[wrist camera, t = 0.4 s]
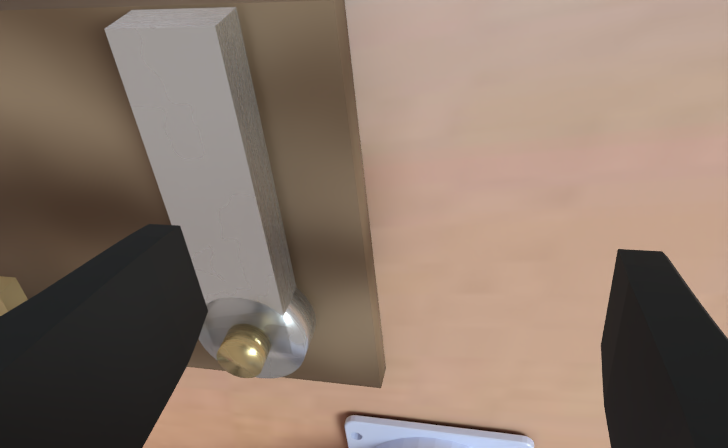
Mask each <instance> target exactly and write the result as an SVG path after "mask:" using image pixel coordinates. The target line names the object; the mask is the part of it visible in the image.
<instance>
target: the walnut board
mask: <svg viewBox="0 0 728 448" xmlns="http://www.w3.org/2000/svg"><path fill="white" fill-rule="evenodd" d="M218 7H237V12H238V17H239V21H240V26H241V31H242V35H243V40H244V45H245V49H246V54H247V59H248V63H249V68H250V73H251V77H252V82H253V87H254V91H255V96H256V101H257V105H258V110H259V115H260V119H261V124H262V129H263V134H264V138H265V143H266V148H267V152H268V157H269V162H270V166H271V171H272V176H273V180H274V185H275V190H276V194H277V199H278V204H279V208H280V213H281V218H282V222H283V227H284V232H285V236H286V241H287V246H288V251H289V255H290V260H291V265H292V269H293V274H294V279H295V283H296V288H297V289H299V290H300V291H301V292H302V293H303V294H304V295H305V297H306V298H307V299H308V300H309V302H310V304H311V305H312V307H313V309H314V312H315V316H316V327H315V331H314V334H313V336H312V339H311V342H310V344H309V347H308V350H307V352H306V355H305V358H304V360H303V362H302V364H301V366H300V367H299V368H298V369H297V370H296V371H294V372H293V373H291V374H289V375H286V376H283V377H285V378H294V379H303V380H312V381H322V382H331V383H340V384H349V385H358V386H367V387H376V388H381V386H382V382H383V378H384V373H385V369H386V366H385V357H384V349H383V340H382V331H381V322H380V313H379V304H378V295H377V286H376V278H375V269H374V260H373V251H372V242H371V233H370V224H369V215H368V207H367V198H366V189H365V180H364V171H363V162H362V153H361V144H360V136H359V127H358V118H357V109H356V100H355V91H354V82H353V73H352V65H351V56H350V47H349V38H348V29H347V20H346V11H345V2H344V0H0V316H2V315H3V314H5V313H7V312H8V311H10V310H12V309H13V308H15V307H17V306H18V305H20V304H22V303H23V302H25V301H27V300H28V299H30V298H32V297H33V296H35V295H37V294H38V293H40V292H41V291H43V290H44V289H46V288H47V287H49V286H51V285H52V284H54V283H55V282H57V281H58V280H60V279H61V278H63V277H65V276H66V275H68V274H69V273H71V272H72V271H74V270H75V269H77V268H78V267H80V266H82V265H83V264H85V263H86V262H88V261H89V260H91V259H92V258H94V257H95V256H97V255H98V254H100V253H102V252H103V251H105V250H106V249H108V248H109V247H111V246H112V245H114V244H116V243H117V242H119V241H120V240H122V239H124V238H125V237H127V236H129V235H130V234H132V233H134V232H135V231H137V230H139V229H141V228H143V227H144V226H146V225H148V224H160V225H171V222H170V219H169V216H168V213H167V210H166V207H165V204H164V201H163V198H162V196H161V193H160V190H159V187H158V184H157V181H156V178H155V175H154V172H153V169H152V166H151V164H150V161H149V158H148V155H147V152H146V149H145V146H144V143H143V140H142V137H141V134H140V132H139V129H138V126H137V123H136V120H135V117H134V114H133V111H132V108H131V105H130V102H129V100H128V97H127V94H126V91H125V88H124V85H123V82H122V79H121V76H120V73H119V70H118V68H117V65H116V62H115V59H114V56H113V53H112V50H111V47H110V44H109V41H108V38H107V36H106V33H105V30H104V29H105V28H106V27H108V26H109V25H111V24H112V23H114V22H115V21H116V20H118V19H119V18H121V17H122V16H124V15H125V14H127V13H128V12H130V11H131V10H148V9H183V8H218ZM187 367H195V368H204V369H213V370H222V371H226V370H224V369H223V368H222V367H221V366H220V364H219V363H218V361H217V360H216V359H215V358H214V357H213V356H211V355H210V354H209V353H208V352H207V351H206V349H205V348H204V347H203V345H202V344H201V342H200V341H199V339H198V341H197V343H196V346H195V348H194V351H193V353H192V356H191V358H190V361H189V363H188V365H187Z"/></svg>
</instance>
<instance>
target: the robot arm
mask: <svg viewBox="0 0 728 448" xmlns="http://www.w3.org/2000/svg"><path fill="white" fill-rule="evenodd" d="M207 313H208V309H207V306H206V303H205V300H204V297H203V294H202V290H201V287H200V284H199V281H198V278H197V275H196V272H195V269H194V266H193V263H192V260H191V257H190V254H189V251H188V248H187V245H186V242H185V239H184V236H183V233H182V230H181V227H180V226H178V225H160V224H148V225H146V226H144V227H143V228H141V229H139V230H137V231H135V232H134V233H132V234H130V235H129V236H127V237H125V238H124V239H122V240H120V241H119V242H117V243H116V244H114V245H112V246H111V247H109V248H108V249H106V250H105V251H103V252H102V253H100V254H98V255H97V256H95V257H94V258H92V259H91V260H89V261H88V262H86V263H85V264H83V265H82V266H80V267H78V268H77V269H75V270H74V271H72V272H71V273H69V274H68V275H66V276H65V277H63V278H61V279H60V280H58V281H57V282H55V283H54V284H52V285H51V286H49V287H47V288H46V289H44V290H43V291H41V292H40V293H38V294H37V295H35V296H33V297H32V298H30V299H28V300H27V301H25V302H23V303H22V304H20V305H18V306H17V307H15V308H13V309H12V310H10V311H8V312H7V313H5V314H3V315H2V316H0V448H142V447H143V445H144V444H145V442H146V440H147V438H148V436H149V435H150V433H151V431H152V429H153V427H154V426H155V424H156V422H157V420H158V418H159V416H160V415H161V413H162V411H163V409H164V407H165V406H166V404H167V402H168V400H169V398H170V397H171V395H172V393H173V391H174V389H175V387H176V385H177V384H178V382H179V380H180V378H181V376H182V374H183V372H184V370H185V369H186V367H187V365H188V363H189V361H190V358H191V356H192V353H193V351H194V348H195V346H196V343H197V341H198V338H199V336H200V333H201V330H202V327H203V324H204V322H205V319H206V316H207ZM601 355H602V377H603V394H604V407H605V413H606V419H607V425H608V431H609V437H610V443H611V448H728V338H727V337H726V336H725V335H724V333H723V332H722V331H721V330H720V328H719V327H718V326H717V324H716V323H715V322H714V321H713V319H712V318H711V317H710V315H709V314H708V313H707V311H706V310H705V309H704V307H703V306H702V305H701V303H700V302H699V301H698V299H697V298H696V296H695V295H694V294H693V292H692V291H691V290H690V288H689V287H688V285H687V284H686V283H685V281H684V280H683V278H682V277H681V276H680V274H679V273H678V271H677V270H676V268H675V267H674V265H673V264H672V263H671V261H670V260H669V258H668V257H667V256H666V255H665V254H664V253H663V252H661V251H643V250H624V249H618V252H617V257H616V263H615V269H614V274H613V280H612V286H611V291H610V297H609V303H608V308H607V314H606V320H605V325H604V331H603V337H602V342H601ZM344 427H345V433H346V438H347V444H348V448H534V441H533V440H532V439H531V438H529V437H527V436H523V435H516V434H508V433H499V432H491V431H483V430H475V429H466V428H458V427H450V426H442V425H433V424H425V423H417V422H409V421H401V420H392V419H384V418H376V417H368V416H359V415H351V416H348V417H347V418H346V422H345V426H344Z"/></svg>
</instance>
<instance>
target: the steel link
mask: <svg viewBox="0 0 728 448" xmlns="http://www.w3.org/2000/svg"><path fill="white" fill-rule="evenodd" d="M104 30H105V33H106V36H107V38H108V41H109V44H110V47H111V50H112V53H113V56H114V59H115V62H116V65H117V68H118V70H119V73H120V76H121V79H122V82H123V85H124V88H125V91H126V94H127V97H128V100H129V102H130V105H131V108H132V111H133V114H134V117H135V120H136V123H137V126H138V129H139V132H140V134H141V137H142V140H143V143H144V146H145V149H146V152H147V155H148V158H149V161H150V164H151V166H152V169H153V172H154V175H155V178H156V181H157V184H158V187H159V190H160V193H161V196H162V198H163V201H164V204H165V207H166V210H167V213H168V216H169V219H170V222H171V225H178V226H180V227H181V230H182V233H183V236H184V239H185V242H186V245H187V248H188V251H189V254H190V257H191V260H192V263H193V266H194V269H195V272H196V275H197V278H198V281H199V284H200V287H201V290H202V294H203V297H204V300H205V303H206V306H207V309H208V313H207V316H206V319H205V322H204V324H203V327H202V330H201V333H200V336H199V338H198V339H199V341H200V342H201V344H202V345H203V347H204V348H205V349H206V351H207V352H208V353H209V354H210V355H211V356H213V357H214V358H215V359H216V360H217V361H218V363H219V364H220V366H221V367H222V368H223V369H224V370H226V371H227V372H229V373H231V374H233V375H235V376H238V377H242V378H252V377H258V378H279V377H283V376H286V375H289V374H291V373H293V372H294V371H296V370H297V369H298V368H299V367H300V366H301V364H302V362H303V360H304V358H305V355H306V352H307V350H308V347H309V344H310V342H311V339H312V336H313V334H314V331H315V327H316V316H315V312H314V309H313V307H312V305H311V304H310V302H309V300H308V299H307V298H306V297H305V295H304V294H303V293H302V292H301V291H300V290H299V289H297V288H296V283H295V279H294V274H293V269H292V265H291V260H290V255H289V251H288V246H287V241H286V236H285V232H284V227H283V222H282V218H281V213H280V208H279V204H278V199H277V194H276V190H275V185H274V180H273V176H272V171H271V166H270V162H269V157H268V152H267V148H266V143H265V138H264V134H263V129H262V124H261V119H260V115H259V110H258V105H257V101H256V96H255V91H254V87H253V82H252V77H251V73H250V68H249V63H248V59H247V54H246V49H245V45H244V40H243V35H242V31H241V26H240V21H239V17H238V12H237V7H218V8H183V9H148V10H131V11H130V12H128V13H127V14H125V15H124V16H122V17H121V18H119V19H118V20H116V21H115V22H114V23H112V24H111V25H109V26H108V27H106V28H105V29H104Z"/></svg>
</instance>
